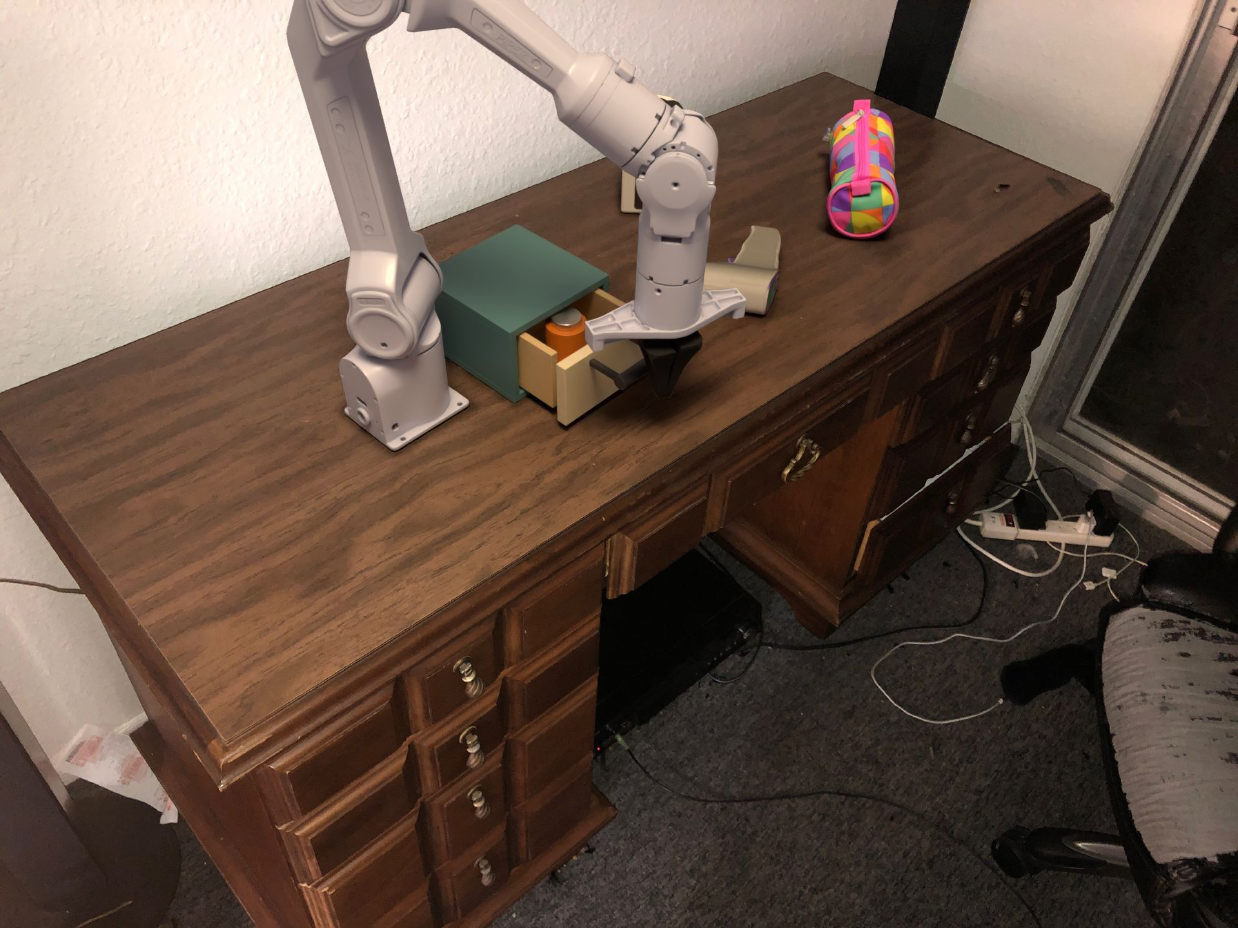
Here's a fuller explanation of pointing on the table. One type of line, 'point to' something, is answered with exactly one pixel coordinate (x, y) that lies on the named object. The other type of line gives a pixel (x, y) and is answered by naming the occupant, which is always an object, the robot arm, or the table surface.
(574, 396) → the drawer
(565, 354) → the orange cylinder
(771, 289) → the infrared thermometer
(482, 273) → the cabinet
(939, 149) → the table surface
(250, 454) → the table surface
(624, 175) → the container
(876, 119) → the pencil case
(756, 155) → the table surface
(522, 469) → the table surface
